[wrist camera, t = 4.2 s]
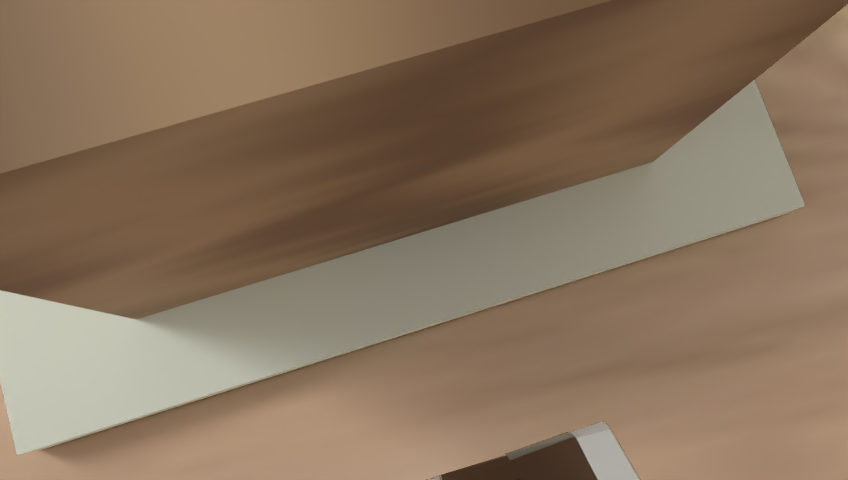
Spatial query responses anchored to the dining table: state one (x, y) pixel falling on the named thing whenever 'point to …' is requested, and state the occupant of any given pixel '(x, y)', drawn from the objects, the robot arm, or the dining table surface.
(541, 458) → the robot arm
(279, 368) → the board
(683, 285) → the dining table surface
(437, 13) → the t block
